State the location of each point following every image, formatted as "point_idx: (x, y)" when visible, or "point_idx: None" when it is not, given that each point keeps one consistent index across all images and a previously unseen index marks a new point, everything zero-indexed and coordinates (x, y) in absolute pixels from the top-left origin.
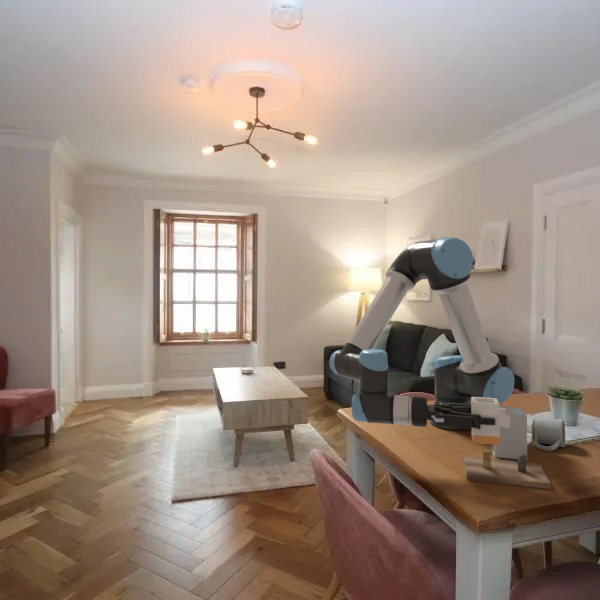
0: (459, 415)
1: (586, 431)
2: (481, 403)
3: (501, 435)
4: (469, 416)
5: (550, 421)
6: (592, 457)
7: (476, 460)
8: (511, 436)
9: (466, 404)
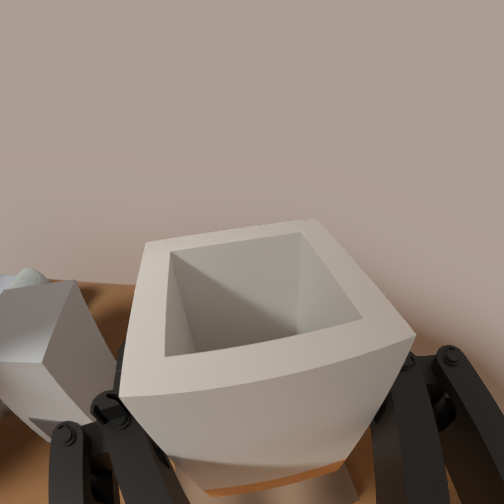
0: (492, 446)
1: (6, 282)
2: (372, 287)
3: (89, 396)
4: (463, 391)
5: (22, 285)
6: (101, 284)
7: (205, 499)
8: (94, 370)
9: (67, 477)
